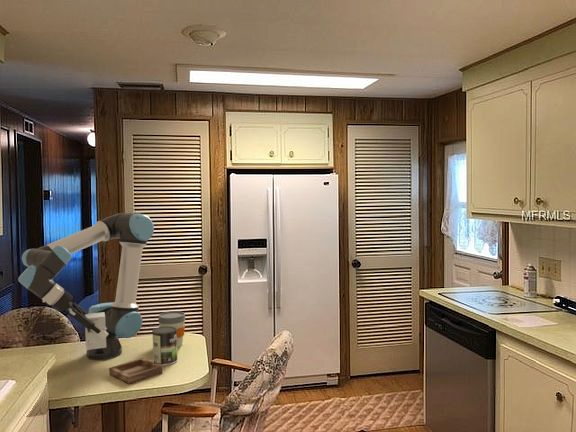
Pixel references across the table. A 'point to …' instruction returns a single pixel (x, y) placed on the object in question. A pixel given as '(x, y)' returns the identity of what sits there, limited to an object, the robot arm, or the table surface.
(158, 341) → the coffee can
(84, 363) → the table surface
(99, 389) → the table surface
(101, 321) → the supplement box
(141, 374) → the walnut tray
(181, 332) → the reusable coffee cup
